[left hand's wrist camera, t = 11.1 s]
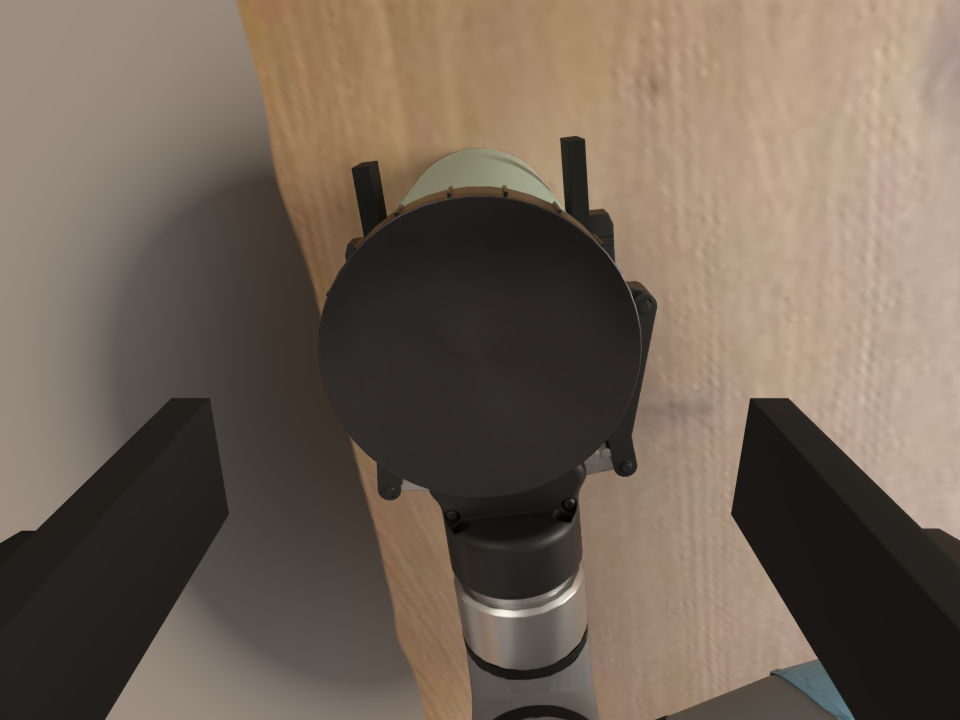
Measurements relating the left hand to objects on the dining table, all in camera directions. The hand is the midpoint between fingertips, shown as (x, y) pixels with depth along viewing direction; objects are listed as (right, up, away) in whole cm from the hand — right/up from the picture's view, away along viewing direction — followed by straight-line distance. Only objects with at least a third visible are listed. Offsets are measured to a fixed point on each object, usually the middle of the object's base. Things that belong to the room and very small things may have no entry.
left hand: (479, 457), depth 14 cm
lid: (0, +2, +5) cm, 6 cm away
